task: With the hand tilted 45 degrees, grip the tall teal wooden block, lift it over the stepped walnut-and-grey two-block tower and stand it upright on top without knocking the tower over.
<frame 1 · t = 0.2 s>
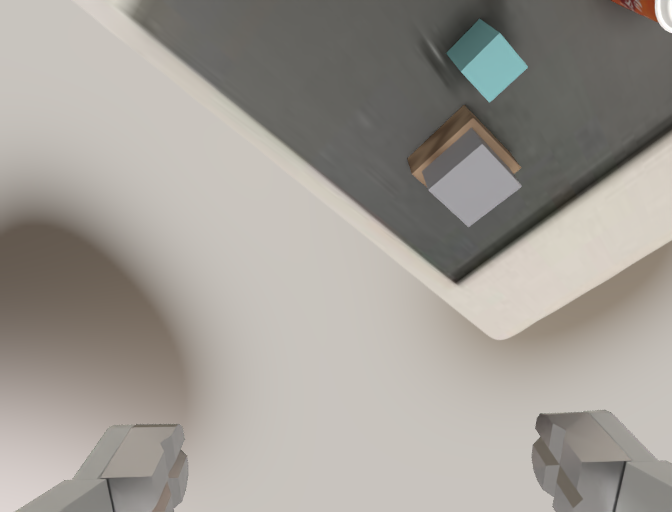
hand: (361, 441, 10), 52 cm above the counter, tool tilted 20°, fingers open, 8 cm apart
walnut base block: (458, 154, 62), on the counter, touching grey top block
teal block: (475, 51, 53), on the counter
grey top block: (465, 169, 58), point 5 cm above the counter, touching walnut base block
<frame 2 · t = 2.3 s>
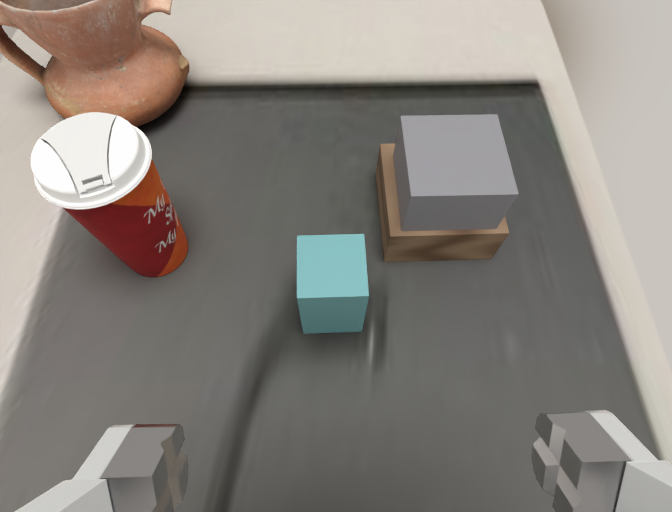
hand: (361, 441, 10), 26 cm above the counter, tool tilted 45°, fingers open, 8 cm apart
ceramic jug: (123, 98, 51), on the counter
walnut base block: (429, 216, 44), on the counter
teal block: (331, 305, 39), on the counter
paper cup: (158, 250, 41), on the counter
grey top block: (442, 190, 39), point 5 cm above the counter
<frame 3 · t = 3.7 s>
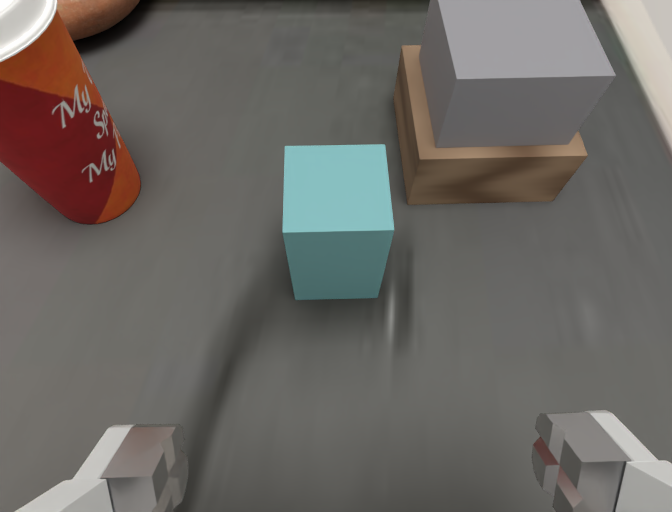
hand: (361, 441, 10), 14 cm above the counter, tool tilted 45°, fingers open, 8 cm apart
ceramic jug: (69, 10, 40), on the counter
walnut base block: (466, 149, 33), on the counter, touching grey top block
teal block: (335, 262, 28), on the counter
paper cup: (101, 191, 31), on the counter
grey top block: (488, 98, 28), point 5 cm above the counter, touching walnut base block
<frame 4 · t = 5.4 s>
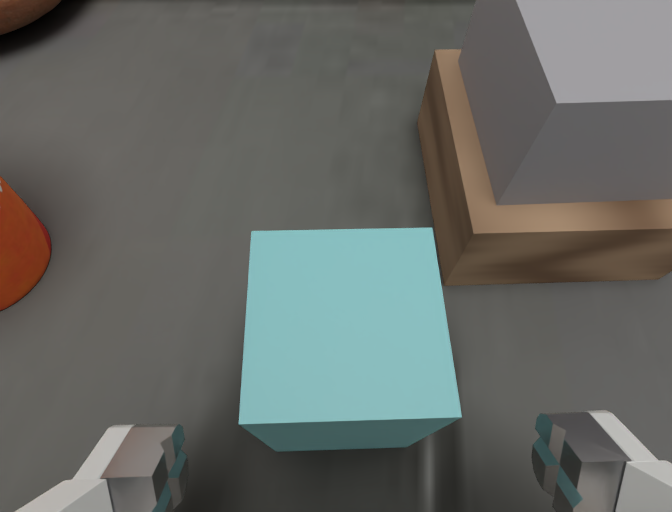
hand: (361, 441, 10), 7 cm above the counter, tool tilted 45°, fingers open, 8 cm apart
walnut base block: (523, 197, 23), on the counter, touching grey top block
teal block: (339, 383, 18), on the counter
grey top block: (568, 123, 19), point 5 cm above the counter, touching walnut base block
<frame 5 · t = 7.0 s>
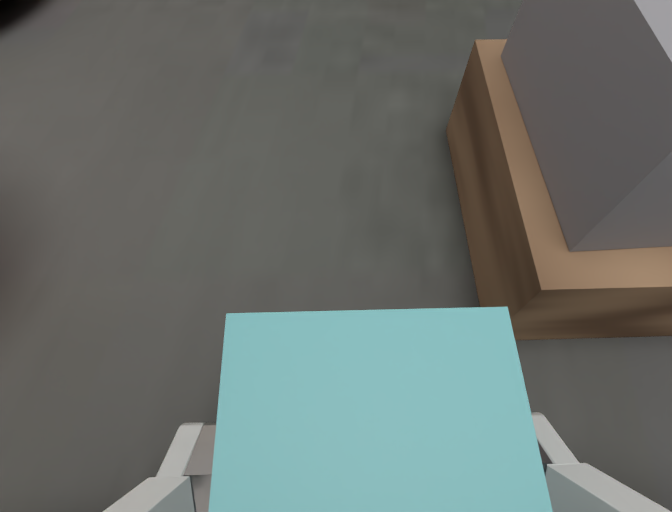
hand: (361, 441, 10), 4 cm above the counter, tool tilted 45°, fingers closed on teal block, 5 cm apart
walnut base block: (579, 223, 19), on the counter, touching grey top block
teal block: (354, 476, 14), on the counter, touching gripper
grey top block: (652, 135, 14), point 5 cm above the counter, touching walnut base block
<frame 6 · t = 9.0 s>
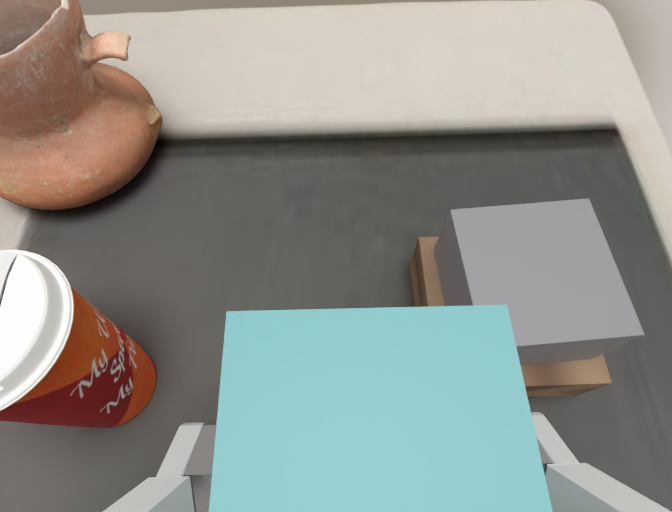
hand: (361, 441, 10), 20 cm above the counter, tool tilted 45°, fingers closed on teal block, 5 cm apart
ceramic jug: (80, 157, 39), on the counter
walnut base block: (484, 328, 32), on the counter
teal block: (354, 474, 14), point 16 cm above the counter, touching gripper
paper cup: (117, 383, 31), on the counter
grey top block: (508, 301, 28), point 5 cm above the counter
when the fingers open (16 cm above the counter, at t = 12.5 s): teal block drops 2 cm, resting on grey top block.
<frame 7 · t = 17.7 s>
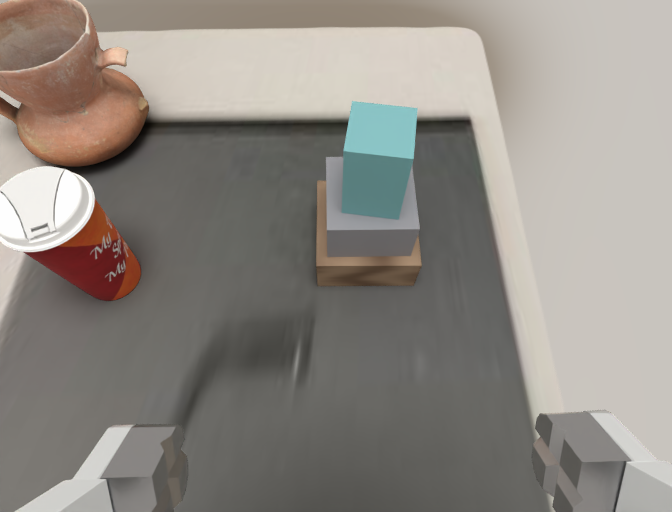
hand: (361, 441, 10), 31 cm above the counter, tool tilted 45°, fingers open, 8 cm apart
ceramic jug: (90, 133, 56), on the counter
walnut base block: (363, 245, 49), on the counter, touching grey top block
teal block: (372, 193, 40), point 10 cm above the counter, touching grey top block
paper cup: (114, 276, 47), on the counter
grey top block: (366, 221, 44), point 5 cm above the counter, touching teal block, walnut base block
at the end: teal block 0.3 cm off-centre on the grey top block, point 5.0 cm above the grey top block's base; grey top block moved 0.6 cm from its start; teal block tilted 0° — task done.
